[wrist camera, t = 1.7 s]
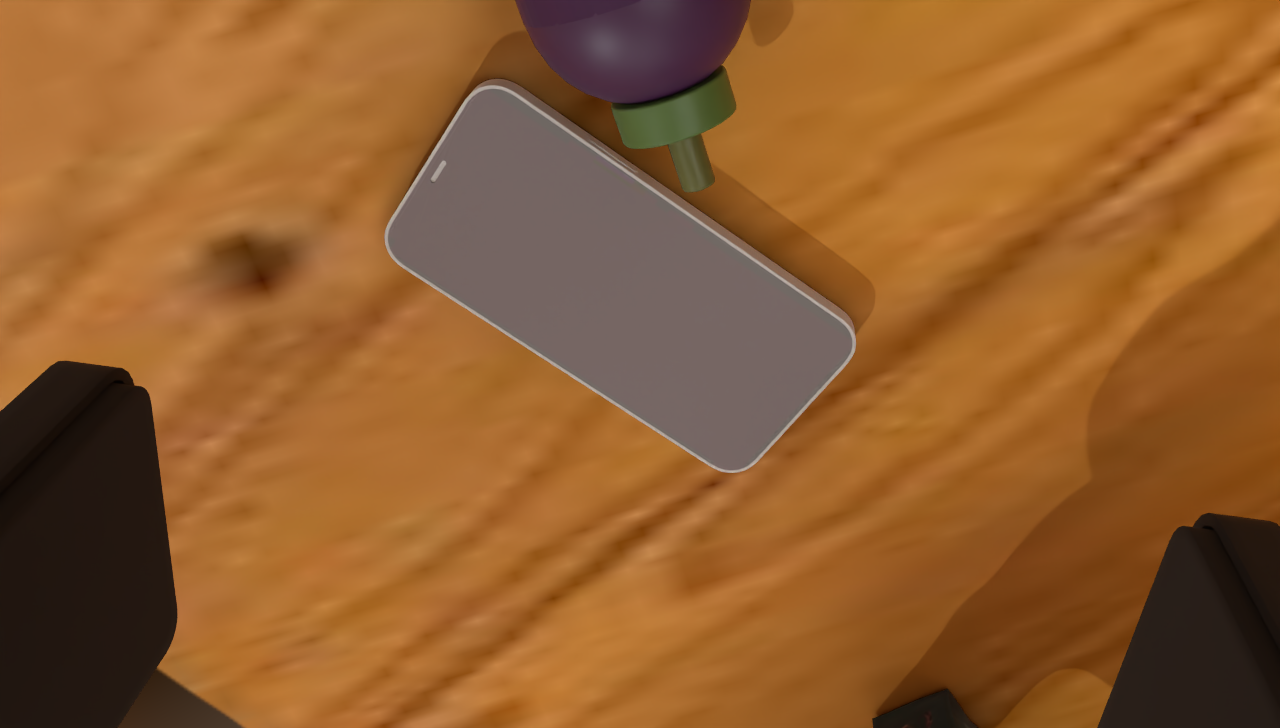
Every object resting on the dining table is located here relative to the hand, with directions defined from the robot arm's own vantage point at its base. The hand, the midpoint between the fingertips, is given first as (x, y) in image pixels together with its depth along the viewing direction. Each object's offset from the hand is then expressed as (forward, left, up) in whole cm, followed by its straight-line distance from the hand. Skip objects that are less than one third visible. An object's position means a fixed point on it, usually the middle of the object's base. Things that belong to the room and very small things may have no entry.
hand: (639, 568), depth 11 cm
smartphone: (+7, +8, -28) cm, 30 cm away
